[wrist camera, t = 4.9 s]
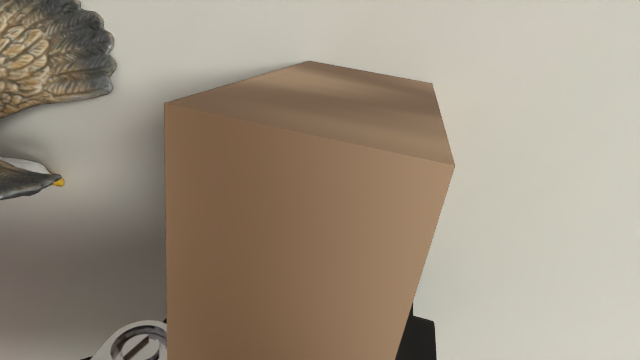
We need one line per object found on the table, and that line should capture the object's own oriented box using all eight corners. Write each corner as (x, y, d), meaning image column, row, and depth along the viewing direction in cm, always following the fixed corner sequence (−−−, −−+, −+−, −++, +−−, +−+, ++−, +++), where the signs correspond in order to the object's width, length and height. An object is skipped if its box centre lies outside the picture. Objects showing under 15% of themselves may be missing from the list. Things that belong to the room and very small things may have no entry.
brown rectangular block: (432, 83, 9) (454, 165, 4) (343, 421, 14) (295, 679, 8) (309, 61, 9) (164, 102, 4) (265, 395, 14) (169, 623, 9)
